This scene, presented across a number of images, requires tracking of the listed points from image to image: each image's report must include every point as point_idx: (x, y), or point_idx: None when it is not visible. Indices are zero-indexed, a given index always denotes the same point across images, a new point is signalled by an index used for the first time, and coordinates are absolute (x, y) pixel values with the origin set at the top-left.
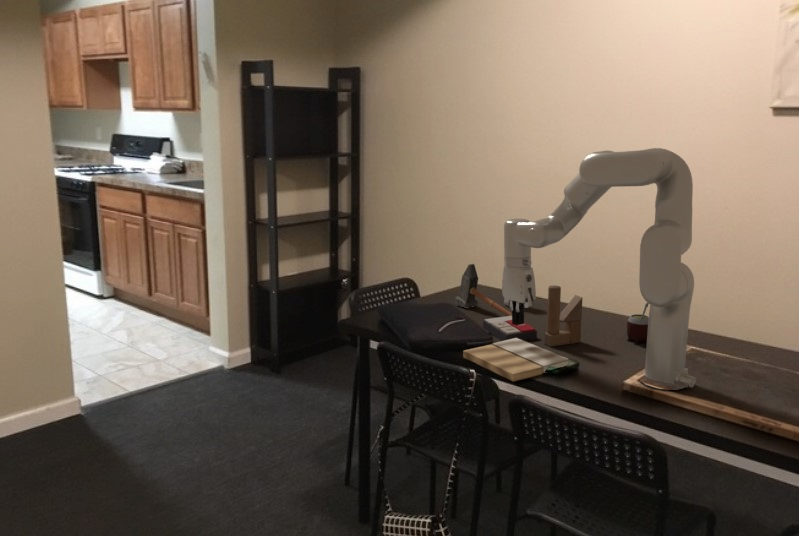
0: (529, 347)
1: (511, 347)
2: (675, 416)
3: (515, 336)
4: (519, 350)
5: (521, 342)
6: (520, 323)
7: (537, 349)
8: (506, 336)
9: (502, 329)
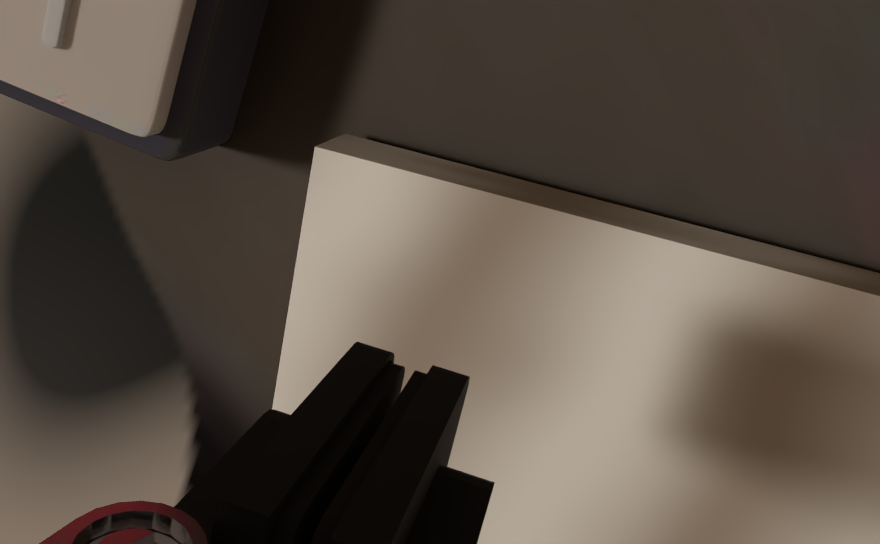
0: (700, 373)
1: (510, 496)
2: None
3: (229, 27)
4: (654, 531)
5: (492, 267)
6: (446, 461)
7: (842, 378)
8: (176, 158)
9: (8, 76)
